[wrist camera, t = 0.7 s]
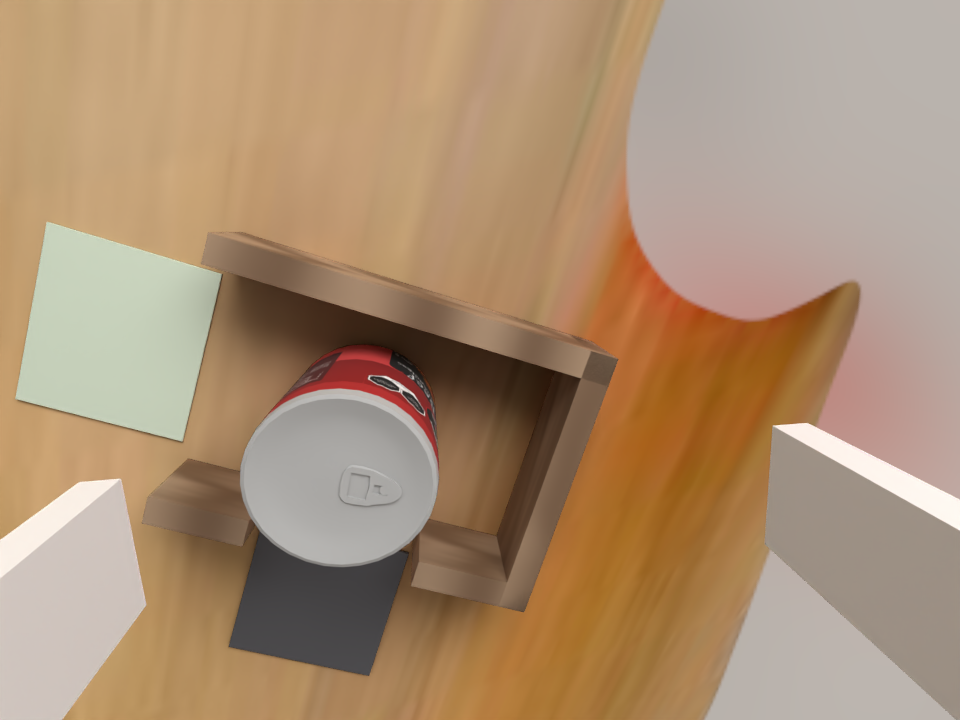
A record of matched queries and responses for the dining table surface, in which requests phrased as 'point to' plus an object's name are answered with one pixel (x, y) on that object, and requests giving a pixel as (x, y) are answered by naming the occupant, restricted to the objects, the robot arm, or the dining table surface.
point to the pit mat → (316, 608)
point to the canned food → (345, 459)
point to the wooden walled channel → (577, 362)
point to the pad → (116, 333)
